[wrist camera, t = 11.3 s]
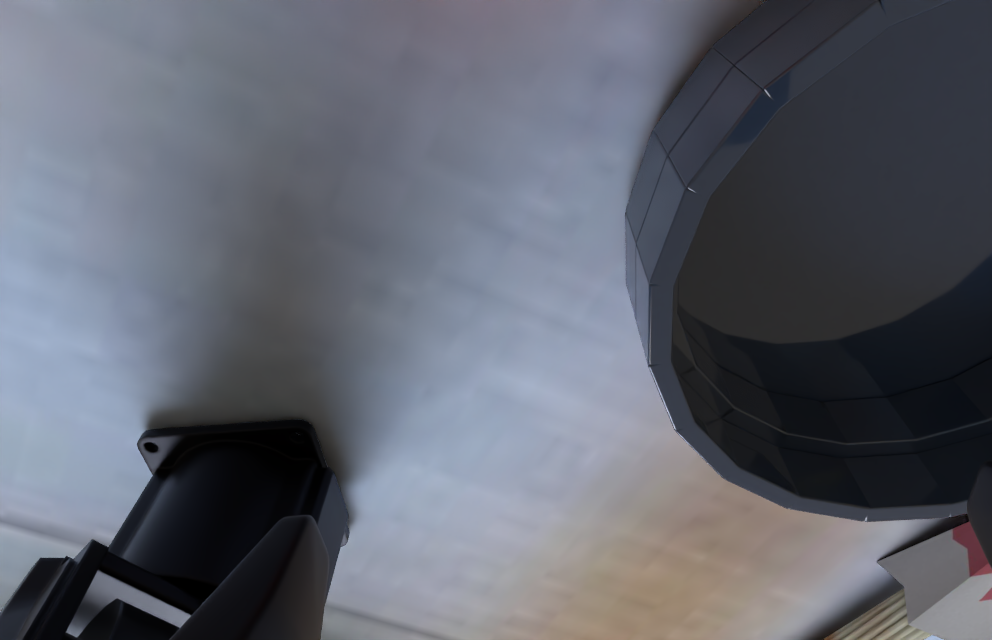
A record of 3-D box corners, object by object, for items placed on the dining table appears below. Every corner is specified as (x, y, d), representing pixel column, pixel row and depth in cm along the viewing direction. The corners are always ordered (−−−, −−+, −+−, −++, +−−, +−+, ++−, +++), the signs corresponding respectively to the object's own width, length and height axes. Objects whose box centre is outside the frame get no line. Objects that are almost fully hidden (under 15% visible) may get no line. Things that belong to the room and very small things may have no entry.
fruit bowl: (625, 432, 24) (645, 534, 20) (621, -42, 16) (652, -20, 12) (1075, 403, 23) (1185, 506, 19) (1319, -129, 15) (1596, -133, 11)
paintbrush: (1244, 519, 21) (792, 749, 32) (1176, 454, 24) (774, 689, 34) (1168, 475, 20) (727, 727, 31) (1105, 412, 23) (714, 667, 33)
